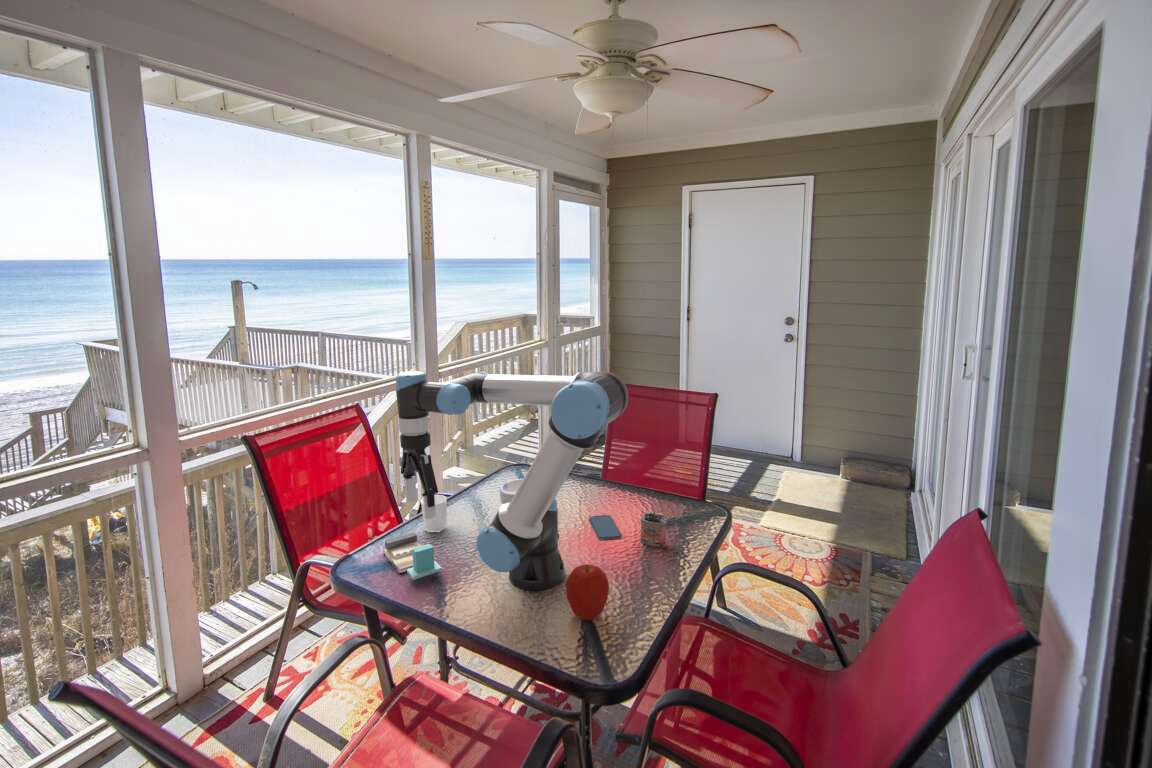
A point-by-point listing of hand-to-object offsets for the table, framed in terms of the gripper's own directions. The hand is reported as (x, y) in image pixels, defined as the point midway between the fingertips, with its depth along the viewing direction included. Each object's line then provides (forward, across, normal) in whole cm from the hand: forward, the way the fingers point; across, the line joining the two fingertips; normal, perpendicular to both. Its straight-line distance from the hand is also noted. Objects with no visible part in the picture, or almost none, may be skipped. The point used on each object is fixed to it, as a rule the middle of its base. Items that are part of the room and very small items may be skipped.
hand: (420, 509), depth 156 cm
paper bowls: (+20, +25, -45) cm, 55 cm away
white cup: (+20, +27, -14) cm, 36 cm away
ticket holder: (+20, +13, 0) cm, 23 cm away
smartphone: (+21, -6, -57) cm, 61 cm away
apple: (+20, -40, -25) cm, 51 cm away
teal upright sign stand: (+18, 0, 0) cm, 18 cm away
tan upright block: (+20, -22, -63) cm, 70 cm away
